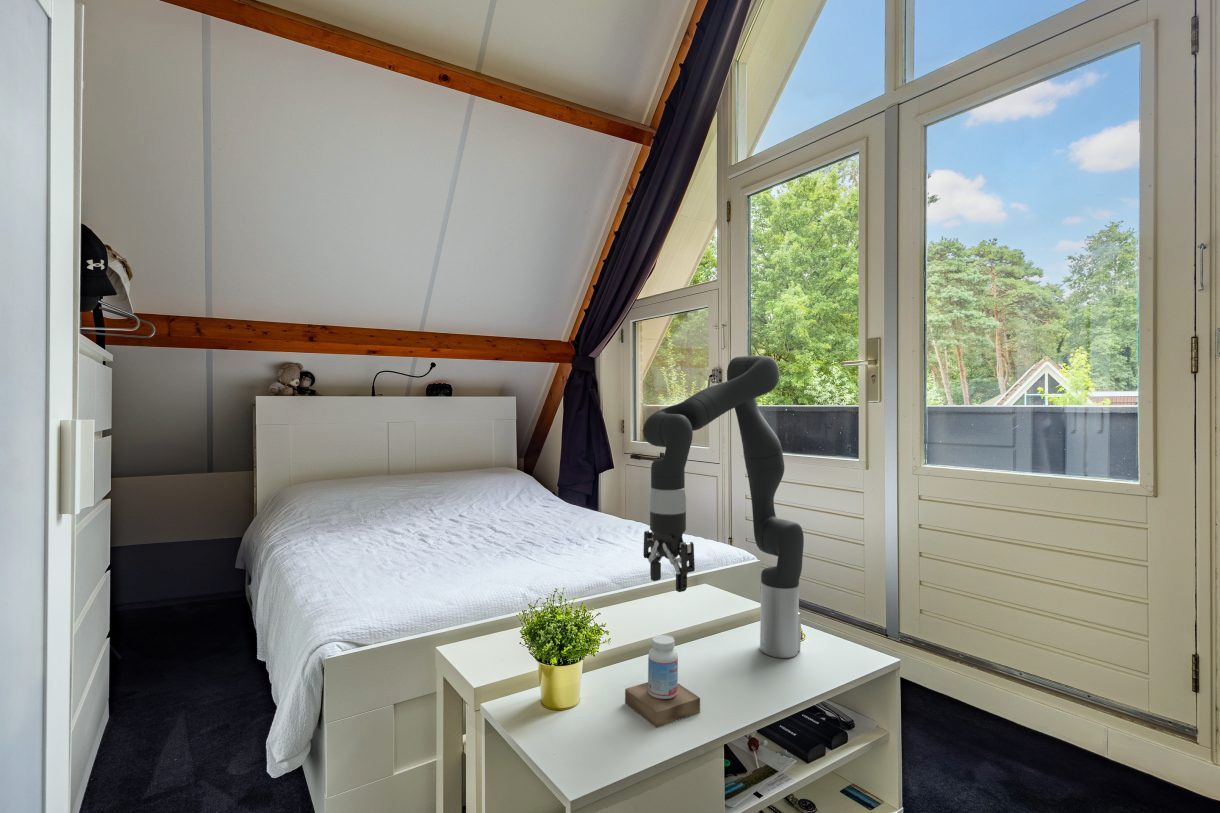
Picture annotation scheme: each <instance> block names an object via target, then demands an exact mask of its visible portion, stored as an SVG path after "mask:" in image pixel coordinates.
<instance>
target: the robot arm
mask: <svg viewBox="0 0 1220 813" xmlns="http://www.w3.org/2000/svg"><path fill="white" fill-rule="evenodd" d="M726 371H727V372H726V378H727V381H724V382H720V383H718V384H715V385H712V386H709V387H707V388H704V389H702V390H700V391H698V392H696V393H695V394H693V395H691V396H689V397H688V398H687V399H685V400H683V401H681V402H679V403H677V404H676V403H675V404H673V405H670V406H668V407H665V408H662V409H660V410H657V411H655V412H654V413H651V415H650V416H648V417H647V418H646V421H645V422H644V424H643V429H642V434H643V437H644V439H645V441H646V442H647V443H649V444H650V445H652V446H654V447H660V448H665V450H664V455H663V457H661V458H657V459H655V460H653V461H652V463H651V465H650V466H651V467H650V495H649V530H646V531H644V532H643V558H644V559H647V560H648V563H649V564H650V568H649V570H650V581H652V582H657V581H660V580H661V578H662V563H661V560H662V558H663V557H664V558H666V559H667V560H668V561H669V563H670V564H671V565H672V566H673V568H674V571H675V572H676V573H675V591H676V592H677V593H681V592H686V590H687V588H688V573H689V574H690V573H693V572H695V570H696V569H695V568H696V567H695V545H694V542H693V541H689V542H685V541H684V539H683V534H684V533H685V532H686V529H687V498H686V496H687V495H686V490H685V489H686V487H685V486H686V485H685V481H686V478H685V475H686V473H685V471H686V470H685V468H686V464H687V460H688V456H689V453H690V449H691V447H692V446H691V445H692V441H693V435H694V434H693V433H694V432H695V431H697V430H700V429H702V428H705V426H707V425H708V424H710V423H711V422H713V421H714V420H716V419H717V418H719V417H720V416H722V415H724V414H725V413H728V412H729V411H731V410H732V409H734V410H735V414H736V418H737V424H738V427H739V429H738V430H739V433H740V438H741V444H742V450H743V458H744V462H745V469H746V473H747V478H748V485H749V492H750V499H751V507H752V508H751V509H752V524H753V536H754V541H755V543H756V546H757V548H758V549H759V551H761V552H762V553H765V554H768V555H772V556H775V557H777V560H776V561H777V563H776V566H769V567H766V568H763V569H762V571H761V573H760V574H761V575H760V621H759V623H760V624H759V626H760V627H759V628H760V632H759V634H760V635H759V649H760V651H761V652H762V653H764V654H765V655H768V656H771V657H773V658H780V659H790V658H794V657H795V656H797V655H798V653H799V652H800V651H801V641H802V640H801V638H802V636H801V635H802V632H801V631H802V629H801V628H802V614H801V613H800V612H799V607H800V606H799V604H800V603H799V602H800V597H799V596H800V577H801V574H802V570H803V558H804V542H805V541H804V540H805V538H804V532H803V529H802V526H801V525H800V524H799V523H797V522H795V521H791V520H789V519H788V520H787V519H784V518H783V519H782V518H778V517H777V514H776V511H775V501H774V499H775V494H776V493H777V490H778V488H779V486H780V483H781V481H782V479H783V476H784V473H785V460H784V455H783V447H782V444H781V441H780V439H779V437H778V435H777V434H776V432H775V431H774V429H773V428H772V427H771V426H770V425H769V423H768V421H767V420H766V419H765V417H764V416H763V414H762V413H761V411H760V408H759V406H758V403H757V398H758V397H761V396H764V395H766V394H769V393H771V392H772V391H773V390H775V388H776V387H777V385H778V383H779V380H780V367H779V364H778V363H777V361H776V360H775V359H774V358H773V357H770V356H768V355H762V354H761V355H745V356H735V357H734V358H732V359H731V360H730V361H729V363H728V366H727V369H726ZM693 431H694V432H693ZM649 549H650V550H649ZM678 556H679V557H678ZM680 565H681V567H680Z"/></svg>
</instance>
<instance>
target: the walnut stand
mask: <svg viewBox="0 0 1220 813" xmlns="http://www.w3.org/2000/svg"><path fill="white" fill-rule="evenodd" d="M624 703H625V705H627V706H628V707H629V708H631V709H632V710H633V711H634V712H636V713H637V714H638V715H640V716H641V717H642V718H643V719H644V720H646V721H647V722H648V723H650V725H652V726H654V727H655V728H660V727H663V726H665V725H668V724H671V723H674V722H677V721H680V720H683V719H685V718H689V717H690V716H694V715H696V714H699V713H701V697H700V696H699V695H697V694H695V693H693V691H690V690H689V689H688V688H686V687H684V686H683V685H682V684H680V683H678V691H677V695H676V696H675V697H673V698H671V699H658V698H654V697H652V696H651V695H650V694H649V692H648V681H647V682H643V683H641V684H637V685H633V686H630V687H628V688H625V689H624ZM682 718H683V719H682ZM679 719H680V720H679ZM676 720H677V721H676Z"/></svg>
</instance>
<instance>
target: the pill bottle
mask: <svg viewBox="0 0 1220 813" xmlns="http://www.w3.org/2000/svg"><path fill="white" fill-rule="evenodd" d="M675 642H676V641H675V638H674V637H673V636H671V635H666V634H656V635H655V636H653V637H652V639H651V646H652V648H651V649H649V651H648V656H647V657H648V658H647V659H648V662H647V672H648V673H647V682H648V692H649V694H650V695H651V696H652V697H654V698H658V699H671V698H673V697H675V696H676V695H677V691H678V684H679V681H678V678H679V675H678V674H679V667H678V666H679V656H678V651H676V649H675V645H676V644H675Z"/></svg>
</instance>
